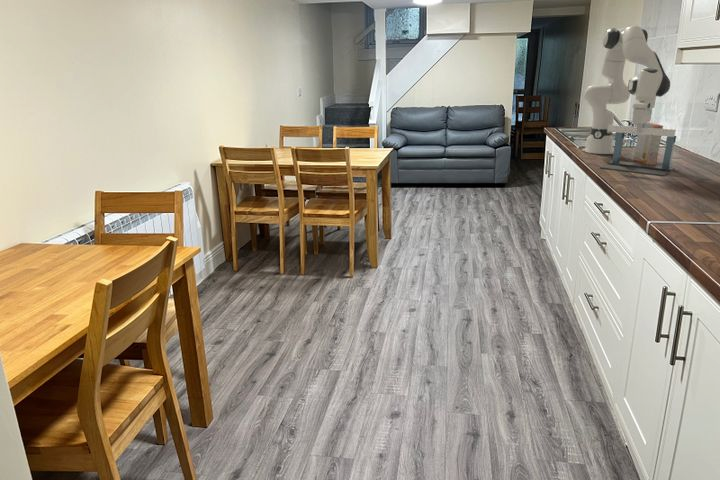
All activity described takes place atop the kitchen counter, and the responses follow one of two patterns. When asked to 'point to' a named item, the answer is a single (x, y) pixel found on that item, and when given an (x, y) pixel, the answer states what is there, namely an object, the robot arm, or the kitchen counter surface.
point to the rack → (616, 161)
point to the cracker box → (648, 146)
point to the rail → (644, 130)
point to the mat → (634, 170)
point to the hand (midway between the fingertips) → (639, 132)
